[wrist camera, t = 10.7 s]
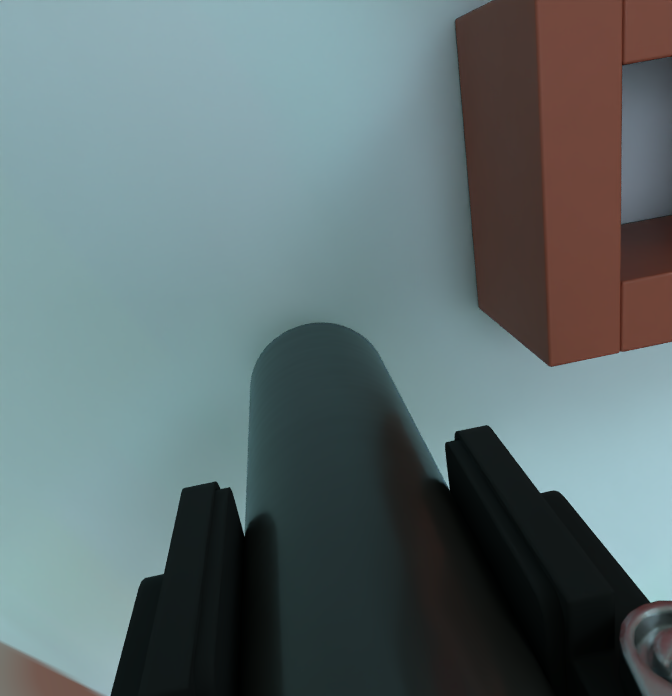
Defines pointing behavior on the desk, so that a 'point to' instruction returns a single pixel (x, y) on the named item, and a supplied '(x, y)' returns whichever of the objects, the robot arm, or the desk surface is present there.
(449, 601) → the peg
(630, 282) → the hollow brick
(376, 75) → the desk surface
